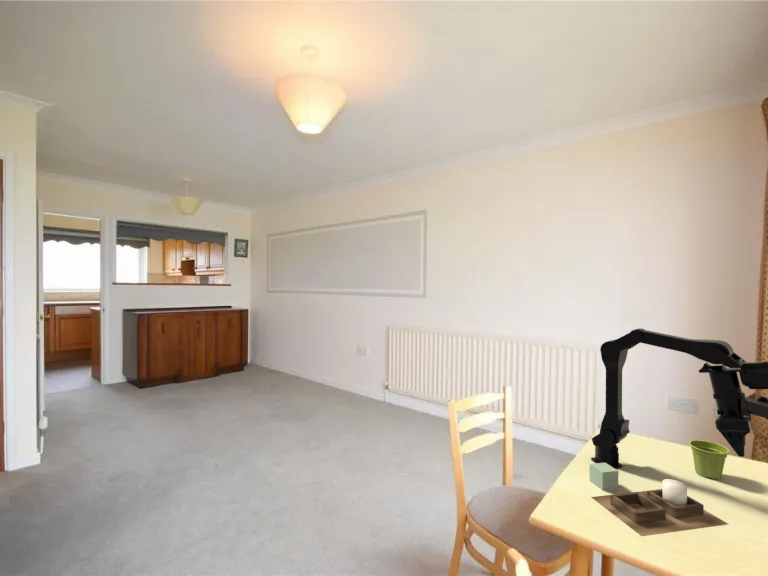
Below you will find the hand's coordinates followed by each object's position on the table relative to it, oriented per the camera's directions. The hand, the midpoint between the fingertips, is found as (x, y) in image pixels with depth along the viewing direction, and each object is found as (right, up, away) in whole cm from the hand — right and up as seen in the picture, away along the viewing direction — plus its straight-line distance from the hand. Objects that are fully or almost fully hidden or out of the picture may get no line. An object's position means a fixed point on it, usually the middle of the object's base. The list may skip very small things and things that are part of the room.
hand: (742, 451), depth 100 cm
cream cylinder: (-18, -14, -1) cm, 23 cm away
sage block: (-30, -15, +10) cm, 35 cm away
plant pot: (+6, -15, +18) cm, 24 cm away
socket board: (-24, -15, -2) cm, 28 cm away
